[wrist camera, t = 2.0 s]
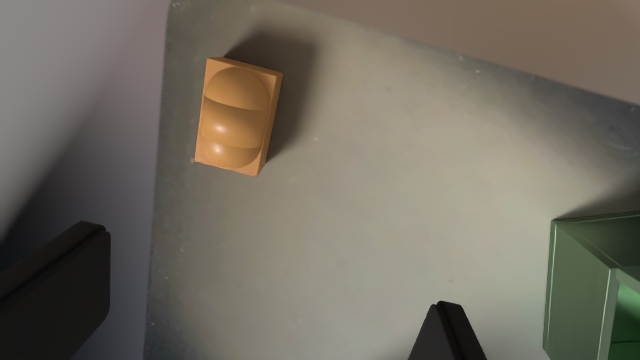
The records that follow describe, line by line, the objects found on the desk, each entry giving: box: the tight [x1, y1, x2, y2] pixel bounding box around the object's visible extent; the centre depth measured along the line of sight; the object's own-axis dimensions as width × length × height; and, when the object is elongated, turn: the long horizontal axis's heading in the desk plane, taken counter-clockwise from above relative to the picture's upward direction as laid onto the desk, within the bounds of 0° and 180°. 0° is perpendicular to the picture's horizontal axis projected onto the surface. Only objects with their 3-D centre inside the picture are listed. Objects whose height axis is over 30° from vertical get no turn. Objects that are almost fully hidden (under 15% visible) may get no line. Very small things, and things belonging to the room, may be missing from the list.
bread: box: [195, 57, 283, 177], centre depth 25 cm, size 7×5×5 cm, turn 166°
